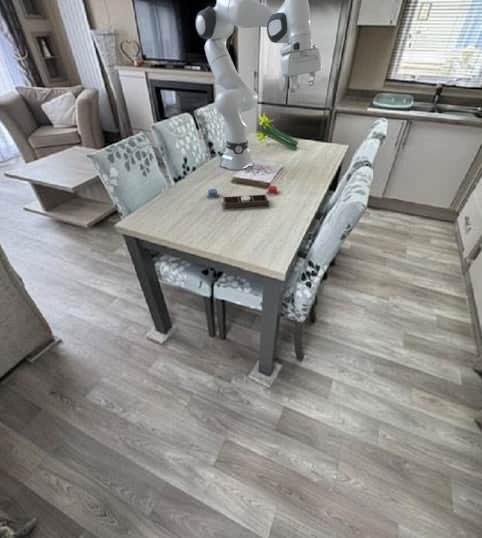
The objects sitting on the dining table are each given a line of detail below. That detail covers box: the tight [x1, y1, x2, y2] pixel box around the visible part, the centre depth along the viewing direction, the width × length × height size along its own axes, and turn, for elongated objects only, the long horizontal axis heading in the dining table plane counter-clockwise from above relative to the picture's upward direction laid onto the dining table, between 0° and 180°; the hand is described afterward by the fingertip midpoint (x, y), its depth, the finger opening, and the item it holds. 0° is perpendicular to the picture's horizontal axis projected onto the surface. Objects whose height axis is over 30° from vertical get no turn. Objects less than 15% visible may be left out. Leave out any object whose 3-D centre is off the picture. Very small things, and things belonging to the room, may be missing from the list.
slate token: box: [207, 188, 218, 198], centre depth 141 cm, size 4×4×3 cm
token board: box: [222, 194, 269, 210], centre depth 135 cm, size 7×20×3 cm, turn 99°
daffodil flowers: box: [254, 112, 300, 151], centre depth 202 cm, size 17×15×35 cm
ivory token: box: [241, 195, 250, 202], centre depth 134 cm, size 4×4×3 cm
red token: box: [267, 185, 278, 195], centre depth 145 cm, size 4×4×3 cm
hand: (304, 87), depth 123 cm, fingers open, 8 cm apart
